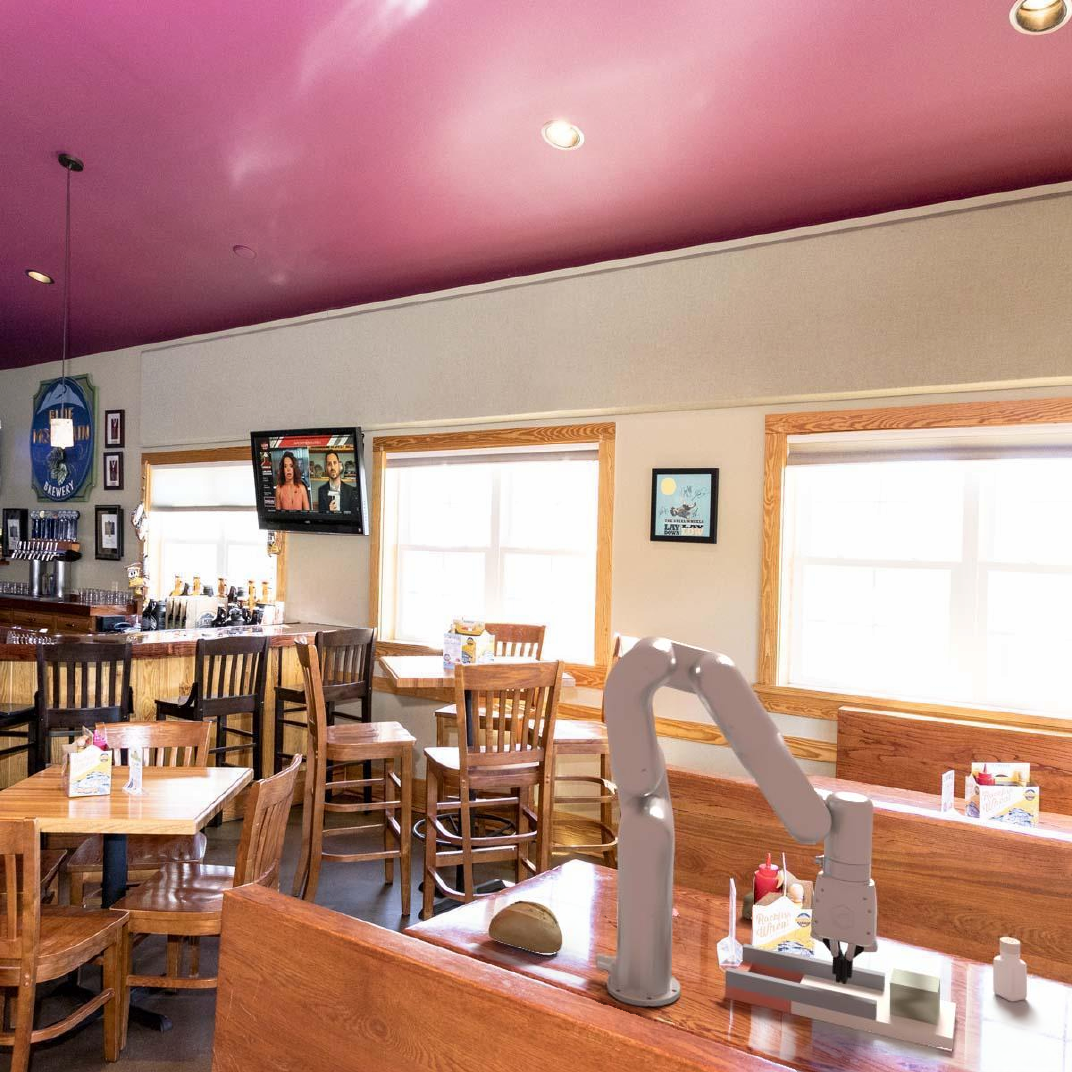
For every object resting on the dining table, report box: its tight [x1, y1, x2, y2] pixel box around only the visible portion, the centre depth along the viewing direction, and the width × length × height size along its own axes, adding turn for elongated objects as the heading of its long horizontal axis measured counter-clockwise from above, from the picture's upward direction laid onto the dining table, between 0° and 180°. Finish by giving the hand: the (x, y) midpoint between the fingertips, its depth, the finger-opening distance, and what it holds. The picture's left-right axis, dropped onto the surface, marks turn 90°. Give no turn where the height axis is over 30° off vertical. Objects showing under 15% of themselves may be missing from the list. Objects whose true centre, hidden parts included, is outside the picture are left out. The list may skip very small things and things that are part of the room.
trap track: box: [724, 943, 957, 1050], centre depth 150 cm, size 35×13×4 cm, turn 63°
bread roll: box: [488, 900, 563, 953], centre depth 172 cm, size 10×15×8 cm, turn 66°
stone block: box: [741, 891, 754, 921], centre depth 187 cm, size 6×12×5 cm, turn 55°
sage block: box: [889, 967, 941, 1025], centre depth 145 cm, size 7×6×5 cm
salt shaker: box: [992, 936, 1028, 1002], centre depth 156 cm, size 4×4×10 cm
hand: (841, 980), depth 150 cm, fingers closed
